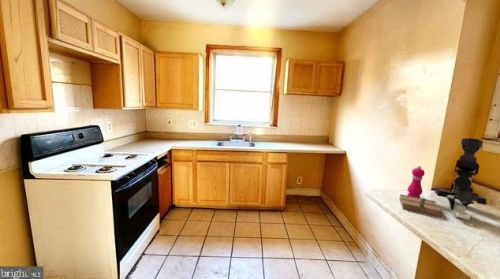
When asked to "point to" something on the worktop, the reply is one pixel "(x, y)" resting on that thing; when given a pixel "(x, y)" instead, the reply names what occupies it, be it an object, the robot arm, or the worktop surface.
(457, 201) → the light grey piece
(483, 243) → the worktop surface
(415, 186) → the pepper mill
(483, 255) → the worktop surface
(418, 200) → the brown open rectangular box
